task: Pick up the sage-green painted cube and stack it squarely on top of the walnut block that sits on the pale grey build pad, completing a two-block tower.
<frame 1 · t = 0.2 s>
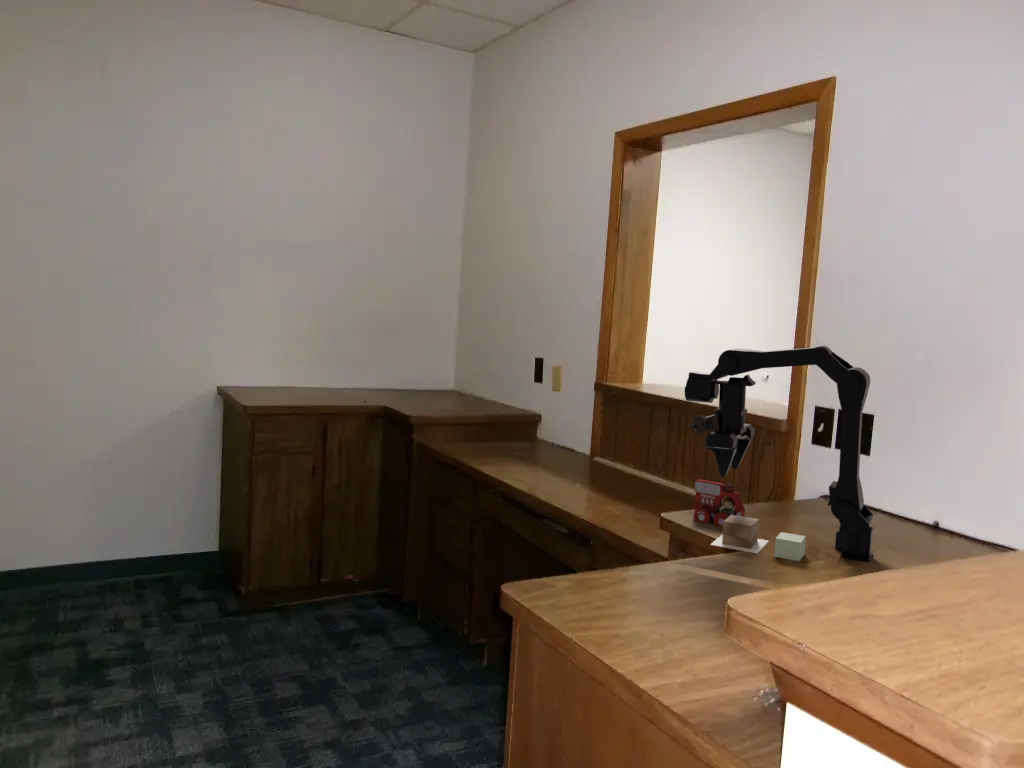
hand: (729, 472, 181), 14 cm above the worktop, fingers open, 9 cm apart
sage cube: (789, 560, 166), on the worktop
build pad: (739, 547, 174), on the worktop
toy fire truck: (717, 526, 190), on the worktop
walnut block: (739, 542, 174), point 1 cm above the worktop, touching build pad
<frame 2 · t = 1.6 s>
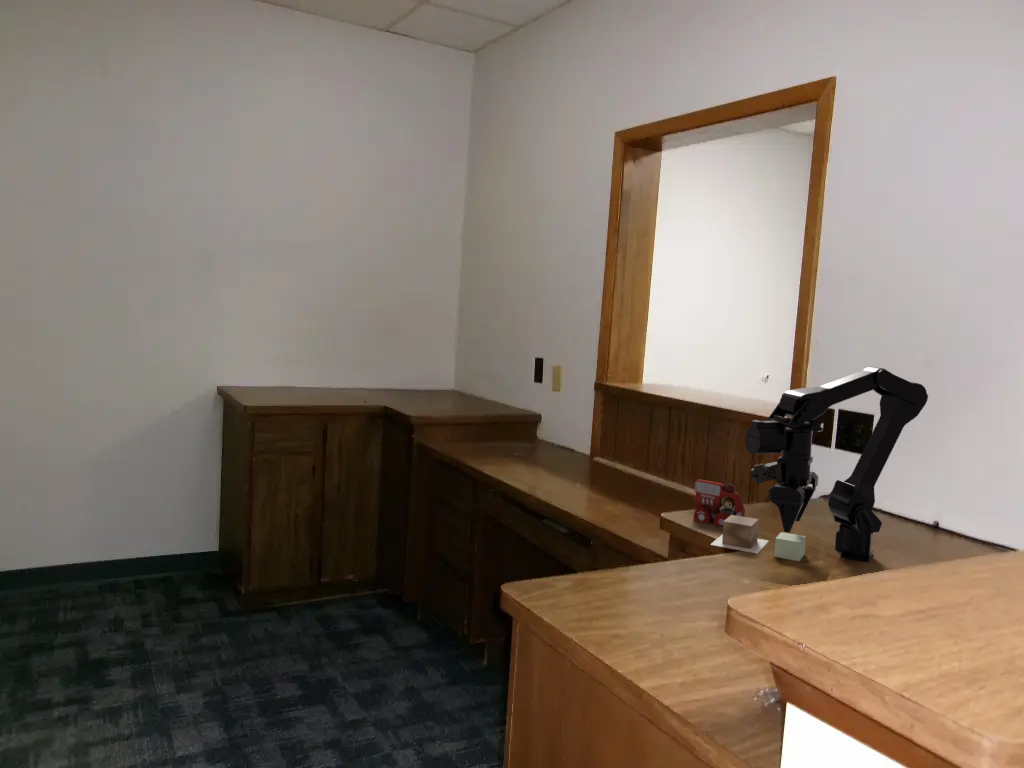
hand: (791, 526, 165), 7 cm above the worktop, fingers open, 9 cm apart
nothing on the worktop moved.
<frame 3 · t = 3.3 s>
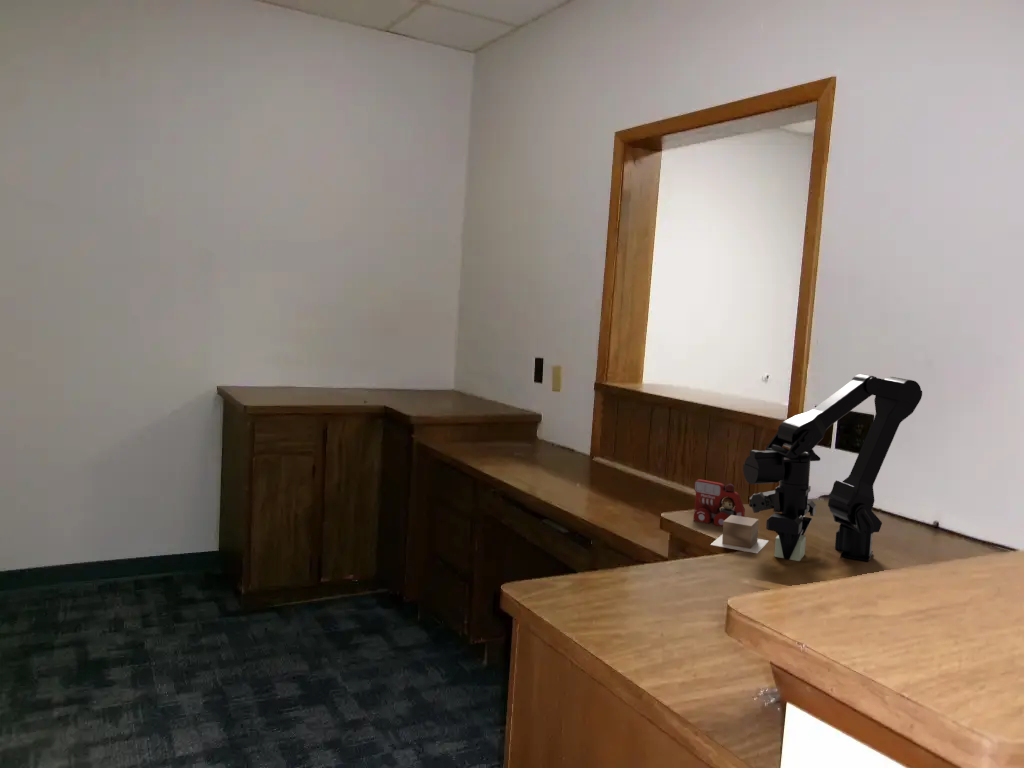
hand: (789, 555, 166), 1 cm above the worktop, fingers closed on sage cube, 5 cm apart
sage cube: (789, 560, 166), on the worktop, touching gripper
everything else where it was.
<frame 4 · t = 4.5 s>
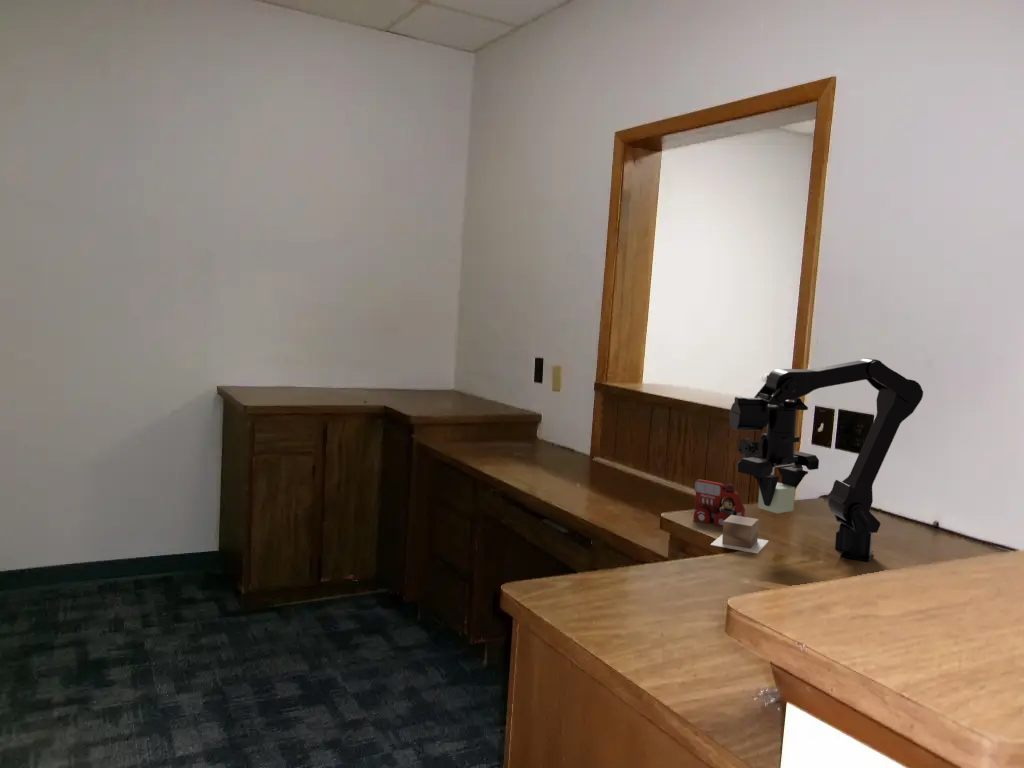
hand: (775, 504, 167), 11 cm above the worktop, fingers closed on sage cube, 5 cm apart
sage cube: (775, 509, 167), point 10 cm above the worktop, touching gripper
everything else where it was.
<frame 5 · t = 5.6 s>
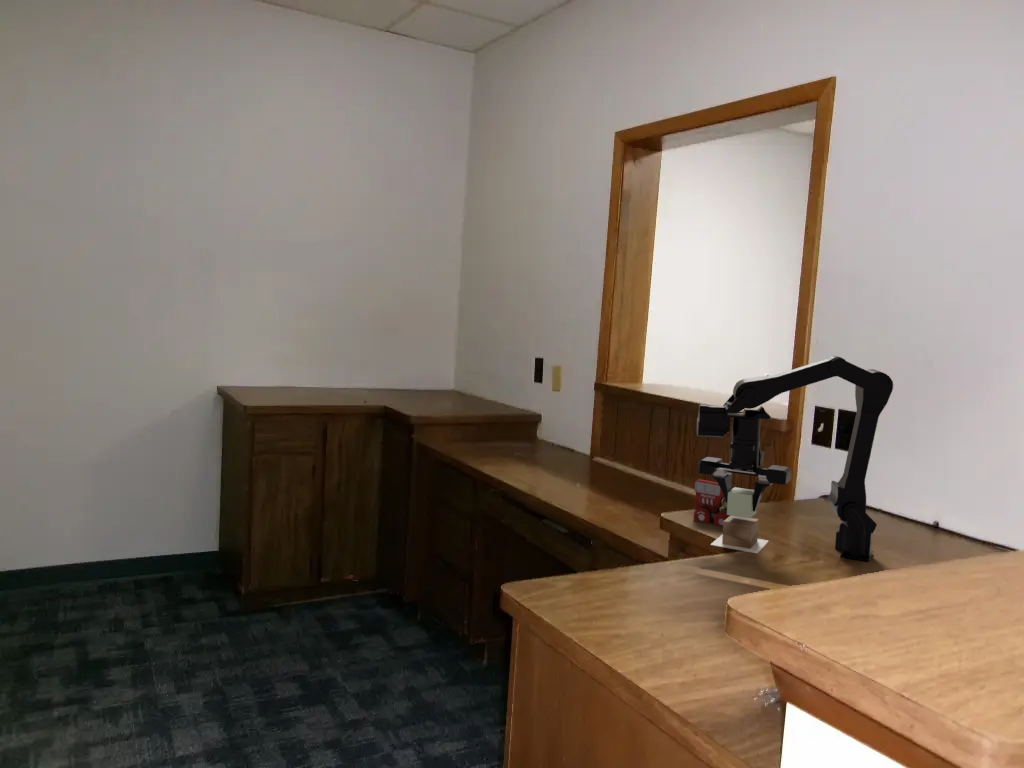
hand: (741, 509, 173), 8 cm above the worktop, fingers closed on sage cube, 5 cm apart
sage cube: (741, 513, 173), point 7 cm above the worktop, touching gripper
everything else where it was.
when the fingers open (8 cm above the worktop, at t = 6.1 s): sage cube drops 1 cm, resting on walnut block.
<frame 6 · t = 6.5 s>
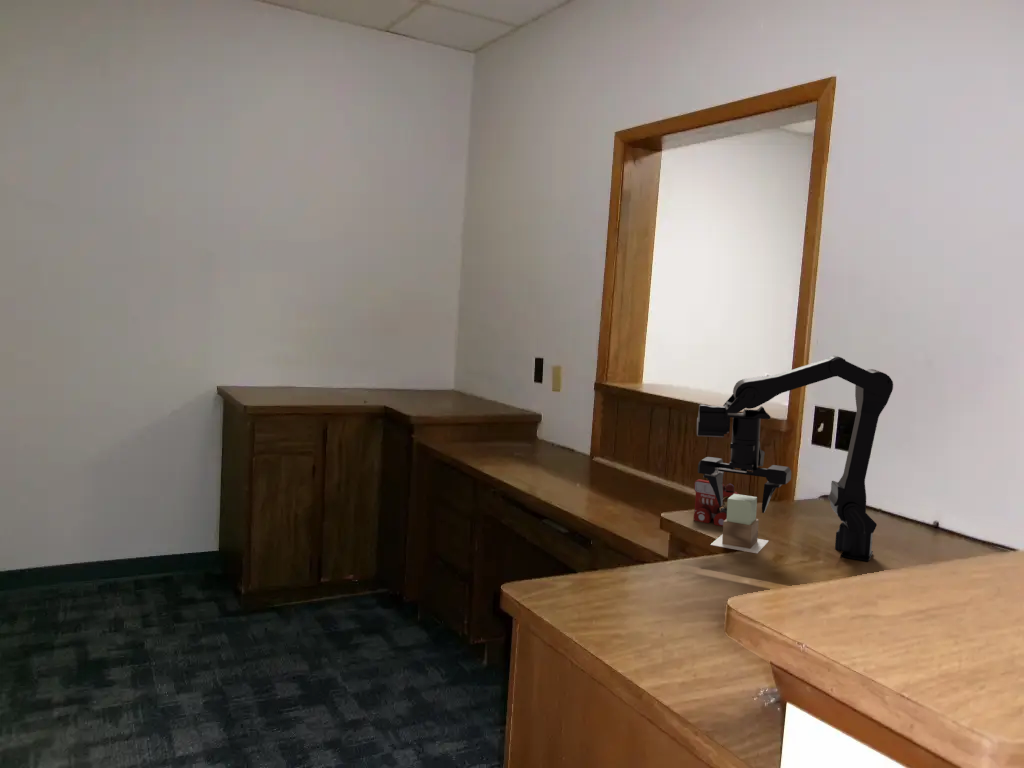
hand: (741, 509, 173), 8 cm above the worktop, fingers open, 9 cm apart
sage cube: (741, 520, 173), point 6 cm above the worktop, touching walnut block
walnut block: (739, 542, 174), point 1 cm above the worktop, touching build pad, sage cube
everything else where it was.
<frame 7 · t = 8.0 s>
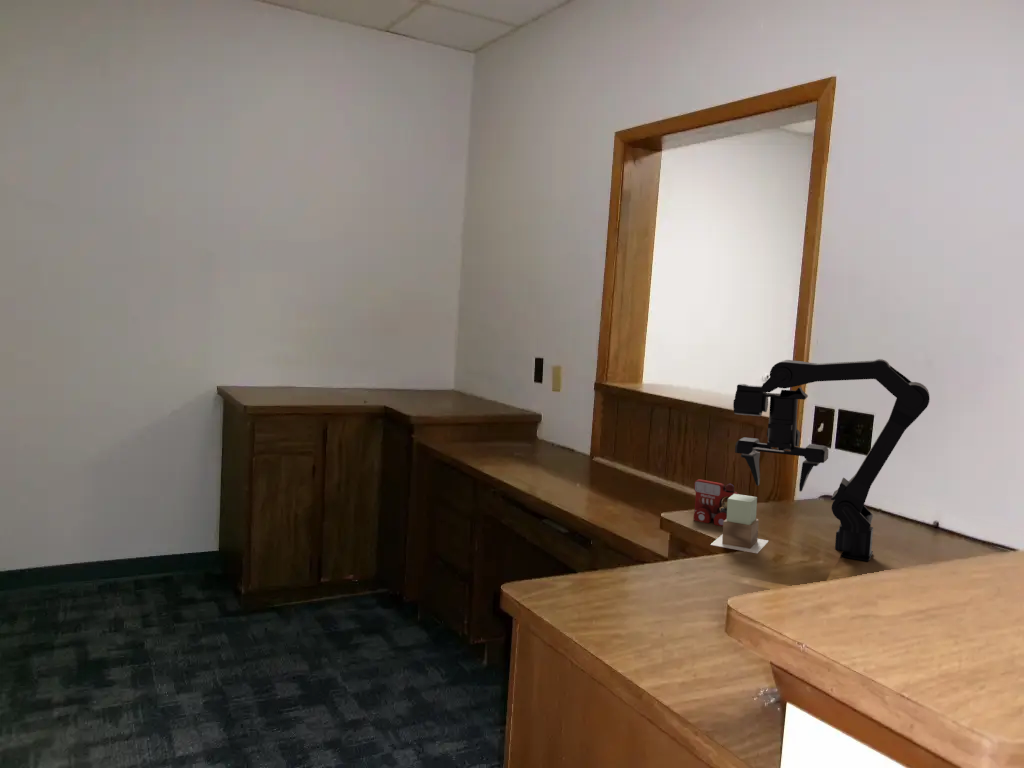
hand: (779, 488, 175), 12 cm above the worktop, fingers open, 9 cm apart
nothing on the worktop moved.
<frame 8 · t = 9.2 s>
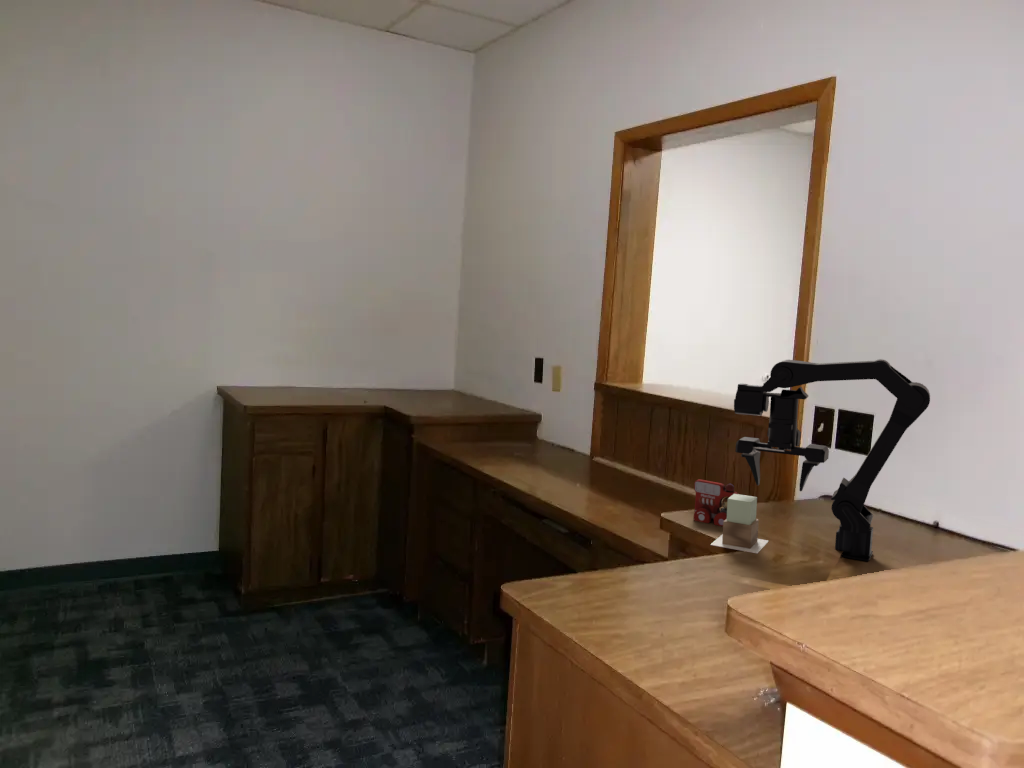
hand: (779, 487, 175), 13 cm above the worktop, fingers open, 9 cm apart
nothing on the worktop moved.
at the end: sage cube 0.0 cm off-centre on the walnut block, point 5.0 cm above the walnut block's base; sage cube tilted 0°; the gripper is holding nothing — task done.
